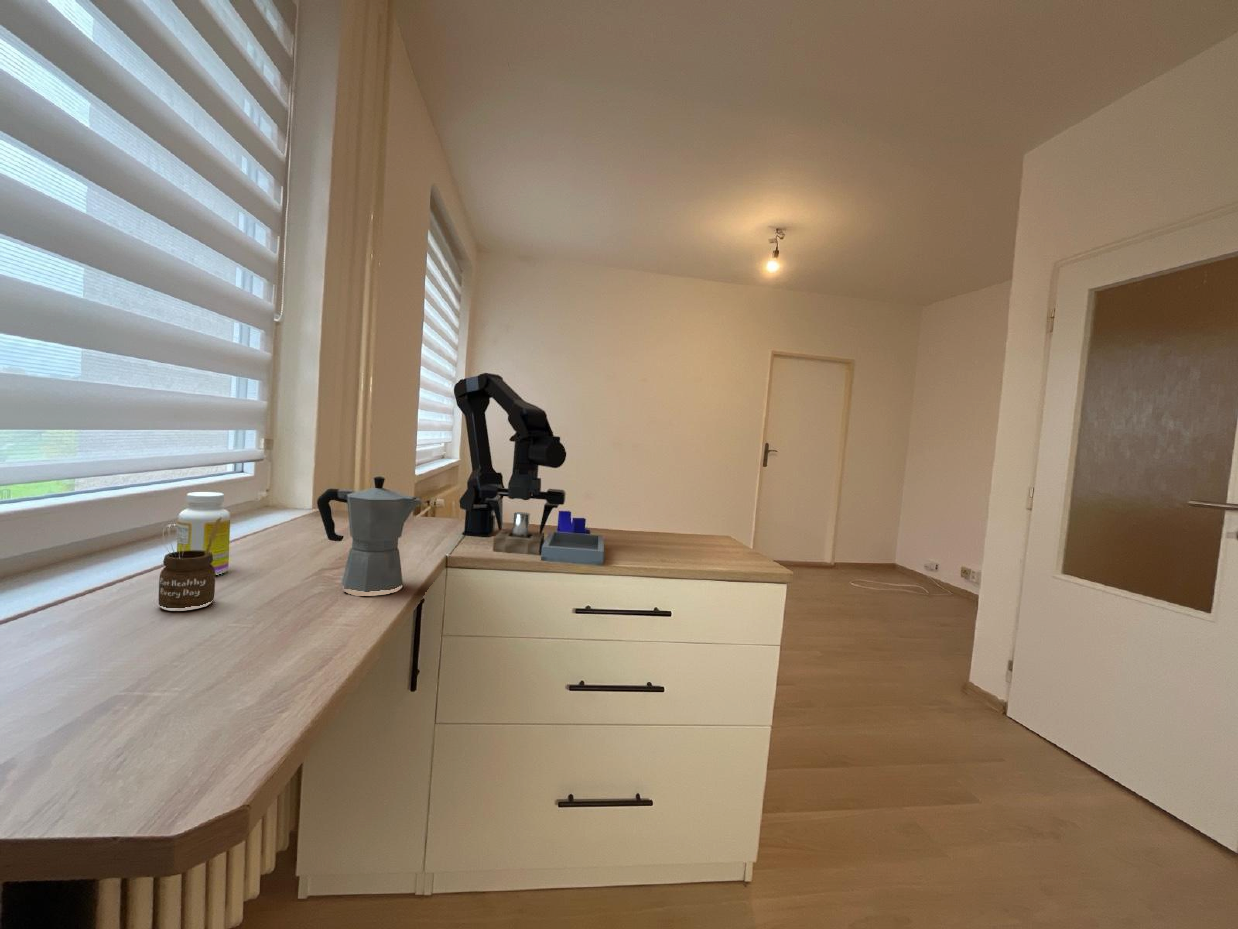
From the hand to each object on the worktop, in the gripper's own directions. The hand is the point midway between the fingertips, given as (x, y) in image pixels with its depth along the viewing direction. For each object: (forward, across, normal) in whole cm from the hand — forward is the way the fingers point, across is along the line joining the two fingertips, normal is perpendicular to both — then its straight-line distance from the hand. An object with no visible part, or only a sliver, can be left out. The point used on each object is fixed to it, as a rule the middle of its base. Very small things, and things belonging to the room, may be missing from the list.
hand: (520, 531), depth 125 cm
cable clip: (+4, +11, +18) cm, 22 cm away
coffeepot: (+4, -19, -37) cm, 42 cm away
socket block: (+4, 0, 0) cm, 4 cm away
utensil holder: (+4, -37, -50) cm, 62 cm away
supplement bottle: (+4, -45, -36) cm, 58 cm away
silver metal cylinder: (+4, 0, 0) cm, 4 cm away
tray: (+4, +12, -1) cm, 13 cm away
